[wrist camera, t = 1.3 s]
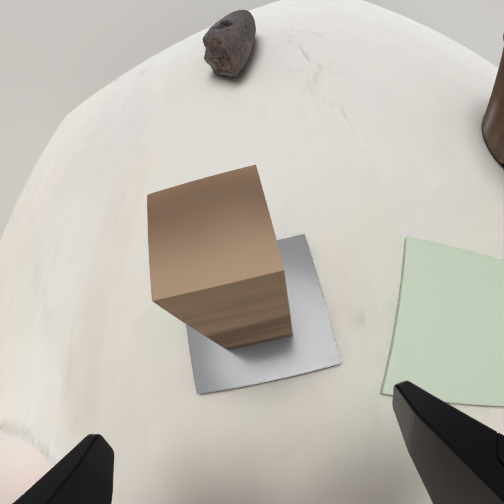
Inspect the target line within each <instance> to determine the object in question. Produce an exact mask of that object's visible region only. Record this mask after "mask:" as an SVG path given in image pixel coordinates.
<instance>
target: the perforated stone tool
mask: <svg viewBox="0 0 504 504" xmlns="http://www.w3.org/2000/svg"><path fill="white" fill-rule="evenodd" d="M255 32H256V26H255V21H254V18H253V16H252V14H251V13H250V12H249V11H246V10H238V11H235V12H232V13H230V14H229V15H227V16H225V17H224V18H222V19H221V20H220V21H218V22H217V23H215V24H214V25H213V26H212V27H211V28H210V29H209V30H208V32H207V33H206V35H205V36H204V37H203V43H204V46H205V47H206V51H205V57H204V60H205V61H206V62H207V63H208V64H209V65H210V66H211V68H212V69H213V72H214V73H215V74H220V75H222V76H223V75H227V76H231V77H235V76H237V75H238V74H239V72H240V71H241V70H242V68H243V67H244V66H245V64H246V62H247V60H248V58H249V55H250V53H251V50H252V47H253V43H254V38H255Z"/></svg>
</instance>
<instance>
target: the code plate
mask: <svg viewBox="0 0 504 504" xmlns="http://www.w3.org/2000/svg"><path fill="white" fill-rule="evenodd" d="M277 244H278V248H279V252H280V256H281V260H282V263H283V267H284V272H285V279H286V286H287V293H288V301H289V308H290V316H291V323H292V331H293V336H289V337H285V338H281V339H276V340H272V341H268V342H263V343H259V344H254V345H250V346H245V347H240V348H235V349H230V350H226V349H225V348H223V347H222V346H220V345H218V344H217V343H215V342H213V341H212V340H210V339H209V338H207V337H206V336H204V335H202V334H201V333H199V332H198V331H196V330H195V329H193V328H192V327H190V326H189V325H187V324H186V328H187V335H188V342H189V349H190V355H191V361H192V368H193V374H194V380H195V386H196V391H197V394H203V393H210V392H216V391H222V390H228V389H233V388H239V387H244V386H250V385H255V384H260V383H265V382H269V381H274V380H278V379H283V378H287V377H292V376H296V375H300V374H304V373H308V372H312V371H316V370H320V369H323V368H327V367H331V366H334V365H338V364H341V360H340V356H339V353H338V349H337V345H336V341H335V337H334V334H333V330H332V326H331V322H330V319H329V315H328V312H327V308H326V304H325V301H324V297H323V294H322V290H321V287H320V284H319V280H318V277H317V273H316V270H315V267H314V263H313V260H312V257H311V253H310V250H309V247H308V244H307V240H306V237H305V234H302V235H298V236H294V237H290V238H285V239H281V240H277Z"/></svg>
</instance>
